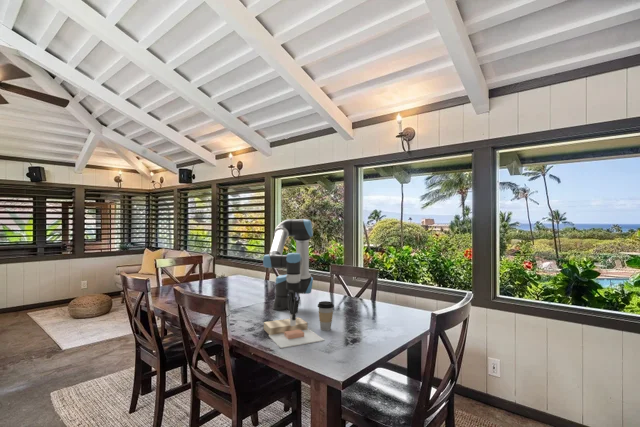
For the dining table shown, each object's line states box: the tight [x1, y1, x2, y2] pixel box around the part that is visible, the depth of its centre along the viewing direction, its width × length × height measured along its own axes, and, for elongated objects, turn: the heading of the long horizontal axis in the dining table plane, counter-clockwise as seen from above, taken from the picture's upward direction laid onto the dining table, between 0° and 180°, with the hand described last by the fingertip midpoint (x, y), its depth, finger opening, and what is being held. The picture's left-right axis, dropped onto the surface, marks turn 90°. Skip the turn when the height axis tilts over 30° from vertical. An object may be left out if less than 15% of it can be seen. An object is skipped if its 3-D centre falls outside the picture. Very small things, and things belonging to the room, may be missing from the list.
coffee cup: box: [317, 300, 335, 332], centre depth 186 cm, size 9×9×15 cm
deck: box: [263, 317, 309, 336], centre depth 184 cm, size 22×12×4 cm, turn 117°
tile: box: [284, 329, 304, 339], centre depth 173 cm, size 9×6×2 cm, turn 116°
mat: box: [268, 328, 325, 349], centre depth 171 cm, size 24×19×1 cm
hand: (292, 325), depth 175 cm, fingers closed
